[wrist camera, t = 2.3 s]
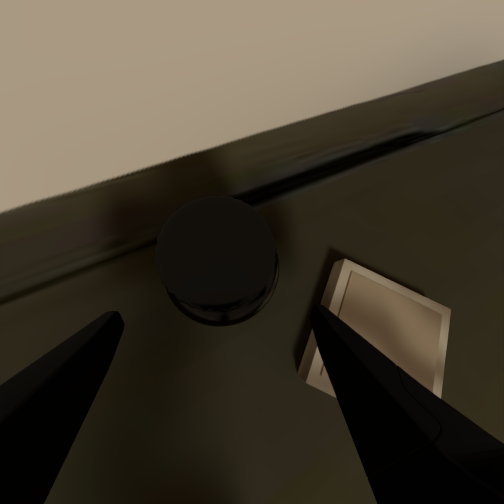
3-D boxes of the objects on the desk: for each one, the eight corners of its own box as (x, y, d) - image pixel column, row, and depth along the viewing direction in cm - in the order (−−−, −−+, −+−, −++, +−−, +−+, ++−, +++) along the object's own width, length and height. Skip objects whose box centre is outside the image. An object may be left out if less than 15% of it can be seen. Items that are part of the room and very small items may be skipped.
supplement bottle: (221, 235, 20) (207, 145, 8) (272, 272, 19) (333, 232, 8) (178, 287, 18) (80, 265, 6) (233, 329, 17) (238, 388, 6)
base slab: (411, 429, 17) (437, 447, 15) (297, 373, 17) (306, 383, 15) (429, 308, 20) (452, 309, 18) (334, 262, 20) (345, 258, 18)
